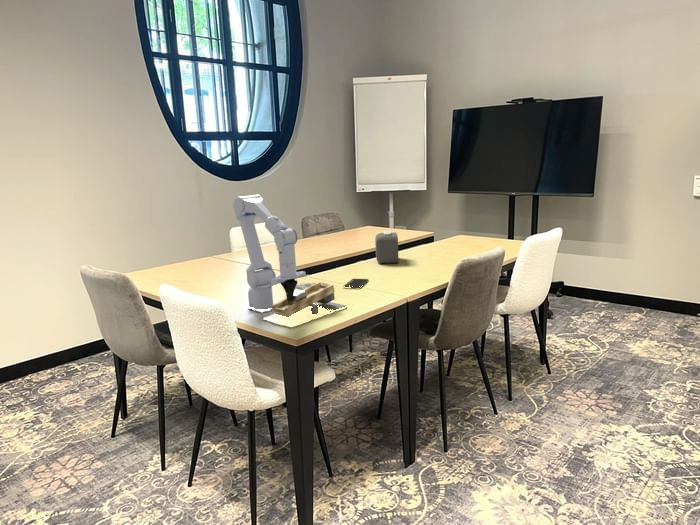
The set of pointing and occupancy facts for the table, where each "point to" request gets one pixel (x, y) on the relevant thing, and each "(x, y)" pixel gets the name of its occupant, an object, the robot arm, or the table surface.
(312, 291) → the balance beam
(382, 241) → the alarm clock
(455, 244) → the table surface
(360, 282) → the phone
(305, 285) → the brain slice
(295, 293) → the steel block
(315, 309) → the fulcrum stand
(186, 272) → the table surface
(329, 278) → the table surface
